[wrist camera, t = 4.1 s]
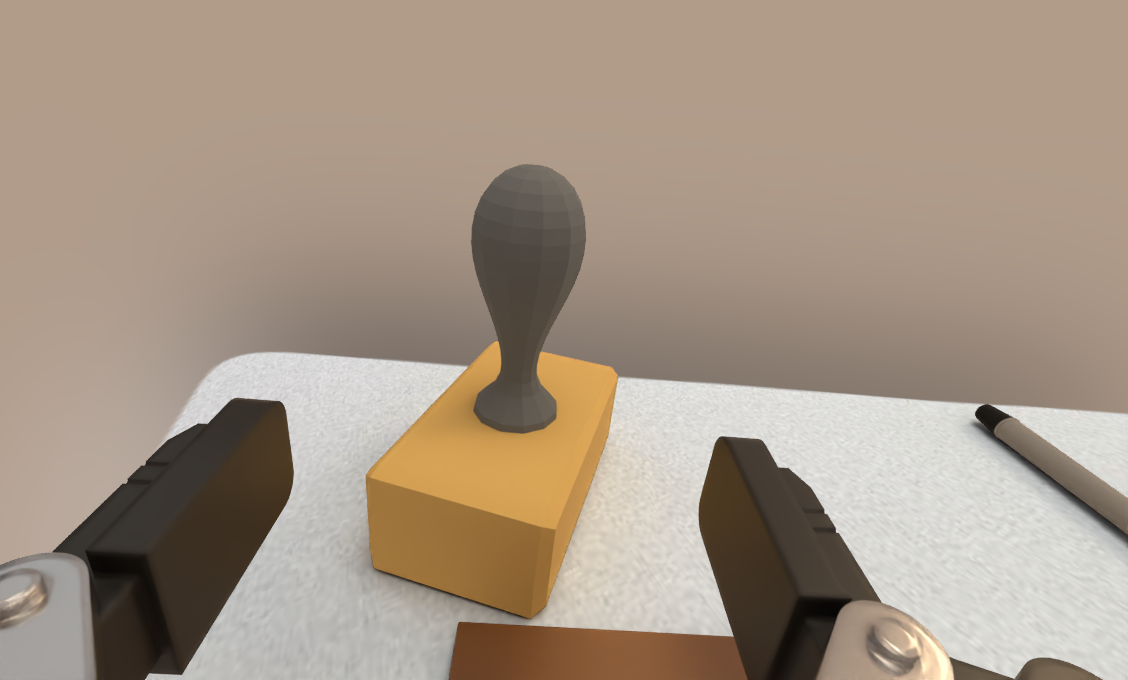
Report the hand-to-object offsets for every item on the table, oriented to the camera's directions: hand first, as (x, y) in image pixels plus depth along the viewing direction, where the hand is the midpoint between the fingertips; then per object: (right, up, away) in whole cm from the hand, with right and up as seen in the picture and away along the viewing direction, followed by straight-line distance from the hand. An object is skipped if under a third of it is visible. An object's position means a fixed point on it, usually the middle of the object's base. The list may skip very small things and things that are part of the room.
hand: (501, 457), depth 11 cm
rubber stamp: (-1, -4, +11) cm, 11 cm away
